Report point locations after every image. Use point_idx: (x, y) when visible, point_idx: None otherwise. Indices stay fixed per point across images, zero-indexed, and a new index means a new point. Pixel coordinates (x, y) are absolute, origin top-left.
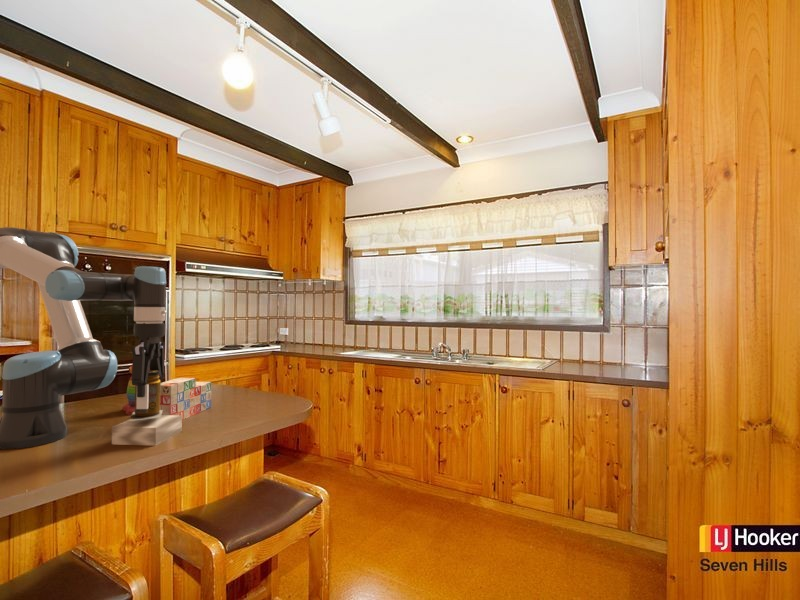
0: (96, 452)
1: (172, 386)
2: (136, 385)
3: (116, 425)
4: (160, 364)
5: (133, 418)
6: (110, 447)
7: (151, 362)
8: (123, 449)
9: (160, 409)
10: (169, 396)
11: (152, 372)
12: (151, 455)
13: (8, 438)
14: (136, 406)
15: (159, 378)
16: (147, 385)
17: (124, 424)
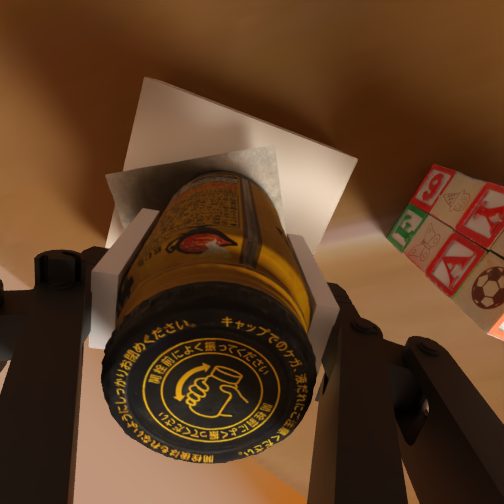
0: (58, 54)
1: (492, 334)
2: (148, 248)
3: (161, 94)
4: (429, 484)
5: (131, 188)
6: (118, 91)
7: (323, 487)
8: (86, 152)
9: (445, 216)
10: (453, 288)
11: (139, 440)
12: (14, 264)
13: None
14: (138, 213)
15: (323, 376)
16: (93, 343)
17: (174, 129)
